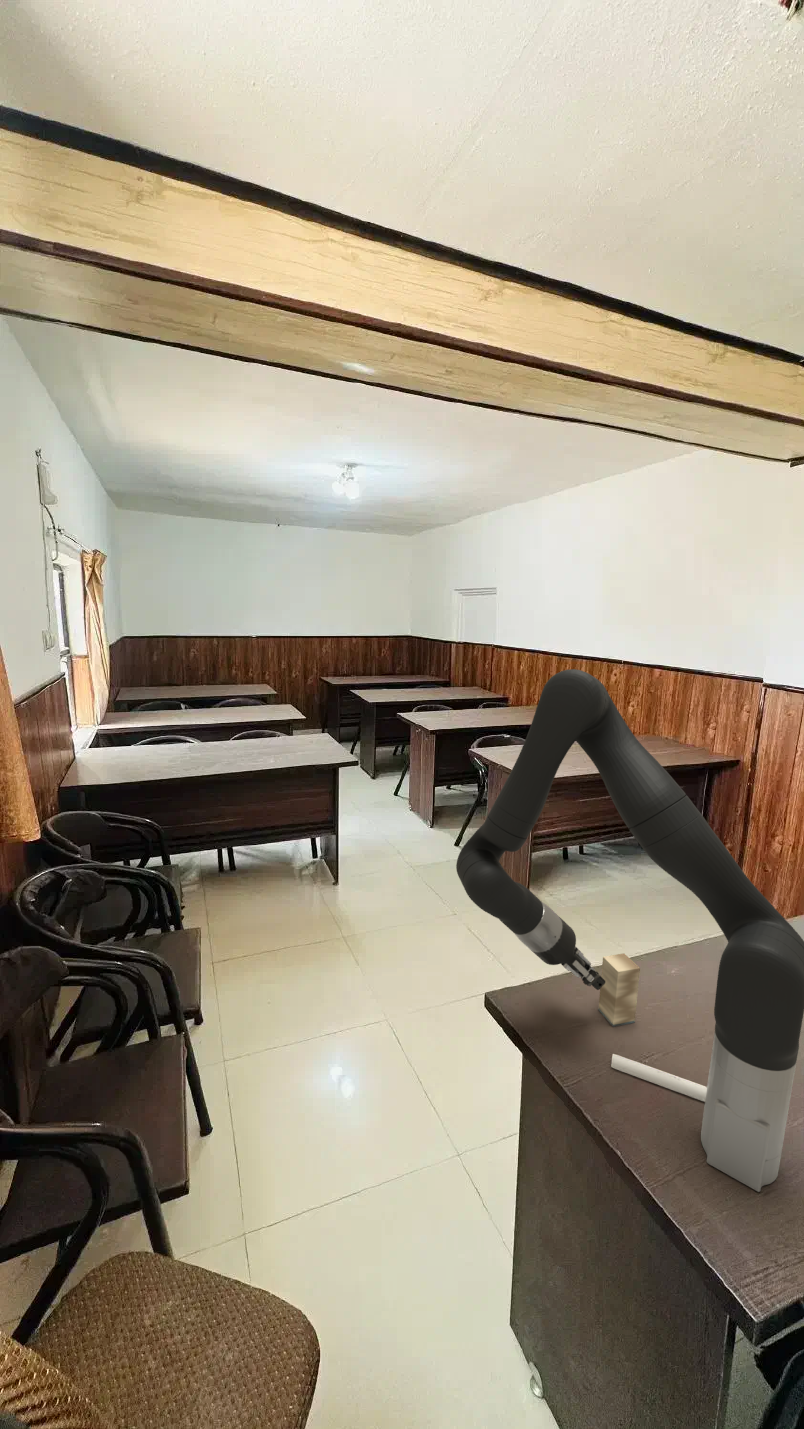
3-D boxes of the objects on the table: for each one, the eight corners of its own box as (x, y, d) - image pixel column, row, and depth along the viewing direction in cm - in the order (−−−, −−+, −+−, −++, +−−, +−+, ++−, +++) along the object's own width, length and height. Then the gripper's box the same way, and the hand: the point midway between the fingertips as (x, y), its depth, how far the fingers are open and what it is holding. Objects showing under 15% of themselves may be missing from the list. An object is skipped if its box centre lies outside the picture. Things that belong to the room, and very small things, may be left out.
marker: (737, 1107, 84) (739, 1093, 83) (738, 1118, 82) (740, 1104, 82) (612, 1061, 92) (613, 1049, 92) (610, 1070, 90) (611, 1057, 90)
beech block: (613, 1026, 100) (618, 971, 98) (598, 1009, 104) (603, 956, 102) (634, 1022, 101) (640, 968, 99) (619, 1005, 105) (624, 953, 103)
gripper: (578, 936, 88) (637, 992, 94) (538, 895, 101) (592, 947, 106) (547, 971, 88) (608, 1025, 93) (510, 926, 101) (566, 976, 106)
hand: (599, 983), depth 100 cm, fingers closed
